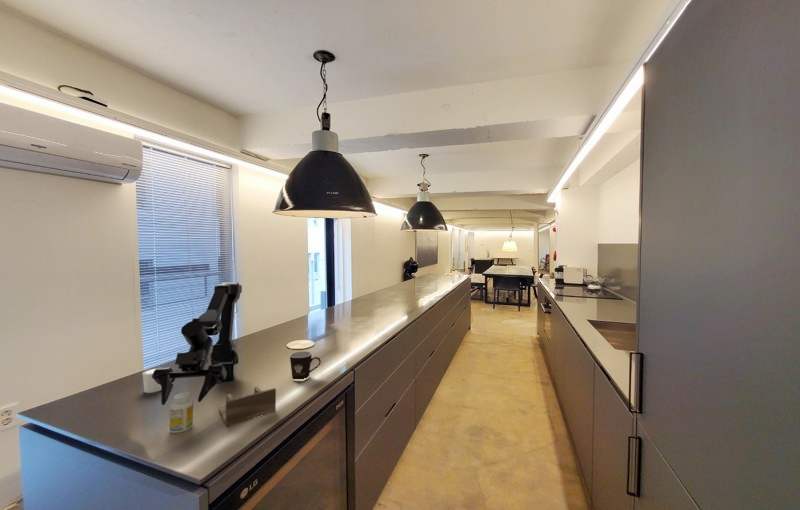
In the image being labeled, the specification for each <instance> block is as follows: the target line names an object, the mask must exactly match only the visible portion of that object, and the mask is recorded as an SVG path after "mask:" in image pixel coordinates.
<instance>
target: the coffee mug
mask: <svg viewBox="0 0 800 510" xmlns="http://www.w3.org/2000/svg"><path fill="white" fill-rule="evenodd" d="M312 354H313V353H312V352H311V351H307V350H306V351H305V350H303V351H302V350H299V351H295V352H292V353H290V354H289V360H290V368H291V379H292V378H293V379H304V378H307V377H308V376H309V377H310V373H311V372H313V371H314V370H316V369H317V368H318V367H319V366H320V365H321V363H322V361H321V359H320V357H317V356H315V357H312V356H313V355H312ZM315 359H316V360H318V364H317V365H316V366H315V367H313V368H312V369H311V363H312V361H314V360H315Z"/></svg>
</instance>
